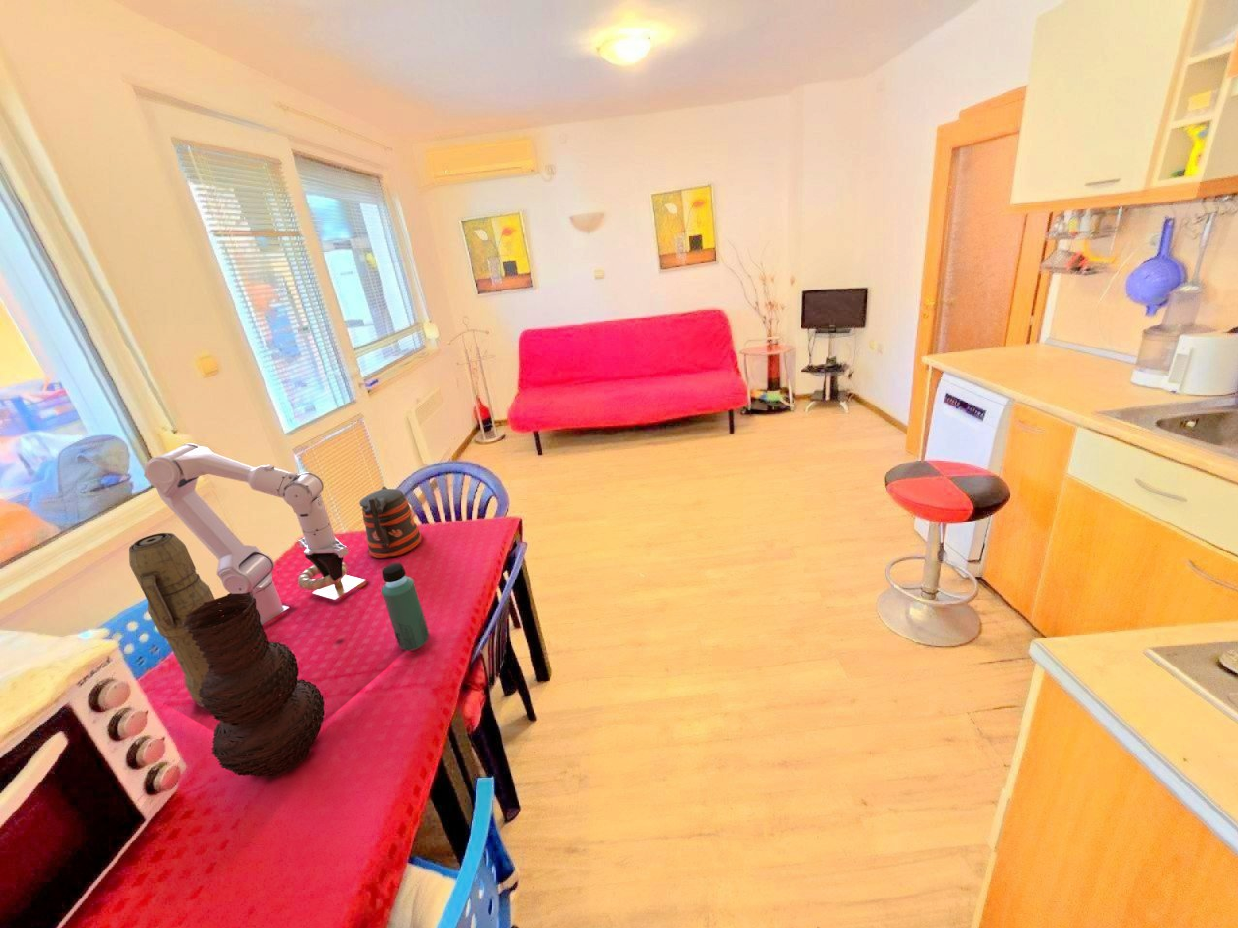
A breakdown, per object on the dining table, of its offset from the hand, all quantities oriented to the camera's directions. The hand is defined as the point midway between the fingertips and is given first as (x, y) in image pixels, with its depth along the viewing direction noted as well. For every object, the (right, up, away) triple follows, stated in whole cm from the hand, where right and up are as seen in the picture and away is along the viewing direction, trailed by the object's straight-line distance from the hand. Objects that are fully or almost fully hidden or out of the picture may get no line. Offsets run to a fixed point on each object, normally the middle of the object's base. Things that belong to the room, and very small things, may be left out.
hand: (333, 577), depth 119 cm
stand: (-5, -6, +11) cm, 13 cm away
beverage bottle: (+24, -12, -11) cm, 30 cm away
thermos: (-10, -19, -20) cm, 29 cm away
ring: (-4, 0, +2) cm, 4 cm away
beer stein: (+2, +1, +29) cm, 29 cm away
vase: (+11, -23, -34) cm, 43 cm away
